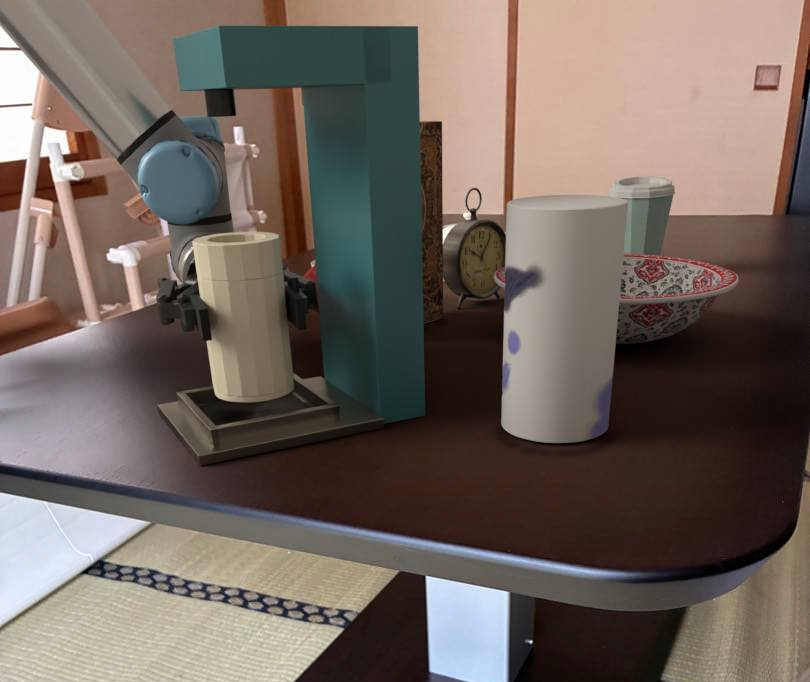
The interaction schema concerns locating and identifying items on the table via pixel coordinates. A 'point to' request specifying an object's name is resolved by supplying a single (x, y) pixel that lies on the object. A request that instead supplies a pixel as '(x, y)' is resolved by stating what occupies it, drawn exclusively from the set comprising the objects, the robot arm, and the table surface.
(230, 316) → the cream faceted cup
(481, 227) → the alarm clock
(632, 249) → the disposable coffee cup
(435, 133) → the book
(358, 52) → the coffee station
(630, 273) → the ceramic bowl
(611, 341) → the container
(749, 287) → the table surface
